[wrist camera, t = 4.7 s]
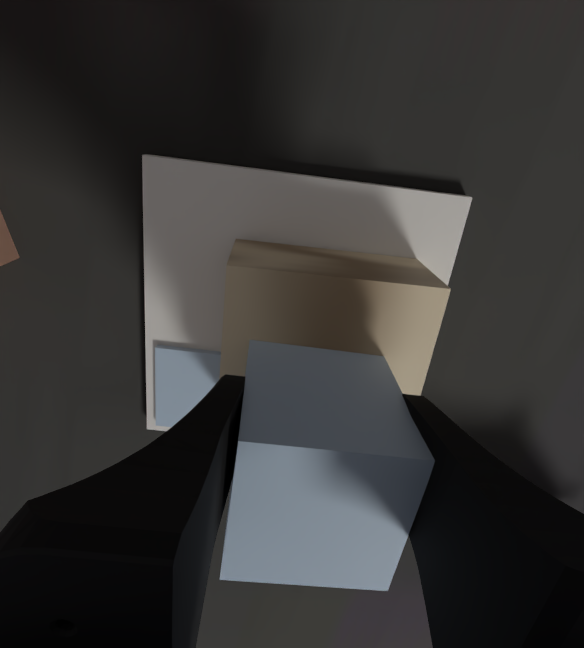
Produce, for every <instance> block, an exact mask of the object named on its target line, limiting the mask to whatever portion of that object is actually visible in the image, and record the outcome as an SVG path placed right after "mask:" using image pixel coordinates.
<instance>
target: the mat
mask: <svg viewBox="0 0 584 648" xmlns="http://www.w3.org/2000/svg"><path fill="white" fill-rule="evenodd" d="M142 180H143V236H144V292H145V348H146V403H147V429H151V430H160V431H168V430H169V429H170V428H171V427H172V426H174V425H175V424H176V423H177V422H178V421H179V420H181V419H182V418H183V417H184V416H185V415H186V414H187V413H189V412H190V411H191V410H192V409H193V408H194V407H195V406H196V405H197V404H198V403H199V402H200V401H201V400H202V399H203V398H204V397H205V396H206V394H207V393H208V392H209V391H210V390H211V389H212V388H213V387H214V385H215V384H216V383H217V382H218V381H219V376H220V360H221V344H222V328H223V312H224V296H225V280H226V265H227V262H228V259H229V256H230V254H231V251H232V248H233V245H234V242H235V239H243V240H252V241H261V242H270V243H279V244H288V245H297V246H306V247H315V248H324V249H333V250H342V251H351V252H360V253H369V254H378V255H387V256H396V257H405V258H414V259H418V260H419V261H420V262H421V263H422V264H423V265H424V266H426V267H427V268H428V269H429V270H430V271H431V272H432V273H433V274H435V275H436V276H437V277H438V278H439V279H440V280H441V281H443V282H444V283H445V284H446V285H447V286H448V283H449V279H450V275H451V272H452V268H453V265H454V261H455V258H456V254H457V251H458V247H459V243H460V240H461V236H462V233H463V229H464V226H465V222H466V219H467V215H468V211H469V208H470V204H471V201H472V197H469V196H467V195H459V194H452V193H444V192H436V191H428V190H421V189H413V188H405V187H397V186H390V185H382V184H374V183H366V182H359V181H351V180H343V179H336V178H328V177H320V176H312V175H305V174H297V173H289V172H281V171H274V170H266V169H258V168H250V167H243V166H235V165H227V164H220V163H212V162H204V161H196V160H189V159H181V158H173V157H165V156H158V155H150V154H145V155H142Z"/></svg>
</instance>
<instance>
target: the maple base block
mask: <svg viewBox="0 0 584 648" xmlns="http://www.w3.org/2000/svg"><path fill="white" fill-rule="evenodd" d="M450 291H451V289H450V288H449V287H448V286H447V285H446V284H445V283H444V282H443V281H441V280H440V279H439V278H438V277H437V276H436V275H435V274H433V273H432V272H431V271H430V270H429V269H428V268H427V267H426V266H424V265H423V264H422V263H421V262H420V261H419V260H418V259H414V258H405V257H396V256H387V255H378V254H369V253H360V252H351V251H342V250H333V249H324V248H315V247H306V246H297V245H288V244H279V243H270V242H261V241H252V240H243V239H235V242H234V245H233V248H232V251H231V254H230V256H229V259H228V262H227V265H226V280H225V296H224V312H223V328H222V344H221V360H220V376H219V379H220V378H221V377H222V376H224V375H225V374H227V375H236V376H245V371H246V364H247V356H248V349H249V341H250V340H257V341H265V342H273V343H281V344H289V345H297V346H306V347H314V348H322V349H330V350H338V351H346V352H354V353H362V354H370V355H378V356H384V357H385V359H386V361H387V363H388V365H389V367H390V369H391V371H392V373H393V375H394V377H395V379H396V381H397V383H398V385H399V387H400V389H401V391H402V393H403V394H409V395H419V396H420V395H421V392H422V388H423V385H424V381H425V378H426V374H427V371H428V367H429V364H430V360H431V357H432V353H433V350H434V346H435V343H436V339H437V336H438V332H439V329H440V325H441V322H442V318H443V315H444V312H445V308H446V305H447V301H448V298H449V294H450Z"/></svg>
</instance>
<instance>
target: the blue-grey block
mask: <svg viewBox="0 0 584 648" xmlns="http://www.w3.org/2000/svg"><path fill="white" fill-rule="evenodd" d="M402 394H403V393H402V391H401V389H400V387H399V385H398V383H397V381H396V379H395V377H394V375H393V373H392V371H391V369H390V367H389V365H388V363H387V361H386V359H385V357H384V356H378V355H370V354H362V353H354V352H346V351H338V350H330V349H322V348H314V347H306V346H297V345H289V344H281V343H273V342H265V341H257V340H250V341H249V349H248V356H247V364H246V371H245V385H244V393H243V401H242V409H241V417H240V425H239V432H238V440H237V448H236V455H235V463H234V471H233V478H232V482H231V488H230V497H229V505H228V514H227V522H226V530H225V539H224V547H223V556H222V564H221V572H220V580H232V581H246V582H261V583H276V584H291V585H306V586H321V587H336V588H351V589H365V590H380V591H388V588H389V586H390V583H391V580H392V578H393V575H394V572H395V570H396V567H397V564H398V562H399V559H400V556H401V554H402V551H403V548H404V545H405V543H406V540H407V537H408V535H409V532H410V529H411V527H412V524H413V521H414V519H415V516H416V513H417V511H418V508H419V505H420V503H421V500H422V497H423V494H424V492H425V489H426V486H427V484H428V481H429V478H430V475H431V472H432V469H433V466H434V462H435V460H434V458H433V456H432V454H431V452H430V450H429V449H428V447H427V445H426V443H425V441H424V439H423V438H422V436H421V434H420V432H419V430H418V428H417V427H416V425H415V423H414V421H413V419H412V417H411V415H410V413H409V410H408V408H407V406H406V403H405V401H404V398H403V396H402Z"/></svg>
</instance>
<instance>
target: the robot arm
mask: <svg viewBox="0 0 584 648" xmlns="http://www.w3.org/2000/svg"><path fill="white" fill-rule="evenodd" d="M244 385H245V376H236V375H227V374H225V375H224V376H222V377H221V378H220V379H219V381H218V382H217V383H216V384H215V385H214V387H213V388H212V389H211V390H210V391H209V392H208V393H207V394H206V396H205V397H204V398H203V399H202V400H201V401H200V402H199V403H198V404H197V405H196V406H195V407H194V408H193V409H192V410H191V411H190V412H189V413H187V414H186V415H185V416H184V417H183V418H182V419H181V420H179V421H178V422H177V423H176V424H175V425H174V426H172V427H171V428H170V429H169V430H168V431H166V432H165V433H164V434H162V435H161V436H160V437H158V438H157V439H156V440H154V441H153V442H151V443H150V444H148V445H147V446H146V447H144V448H142V449H141V450H139V451H137V452H136V453H134V454H132V455H131V456H129V457H127V458H125V459H124V460H122V461H120V462H119V463H117V464H115V465H113V466H111V467H109V468H107V469H105V470H103V471H101V472H99V473H97V474H94V475H92V476H90V477H88V478H86V479H84V480H81V481H79V482H76V483H74V484H72V485H69V486H67V487H64V488H61V489H59V490H56V491H53V492H51V493H48V494H45V495H43V496H40V497H37V498H34V499H31V500H28V501H27V502H26V503H25V504H24V506H23V507H22V508H21V509H20V510H19V511H18V512H17V513H16V514H15V515H14V517H13V518H12V519H11V520H10V521H9V522H8V524H7V525H6V526H5V527H4V528H3V530H2V531H1V532H0V648H196V642H197V636H198V631H199V625H200V619H201V614H202V608H203V602H204V597H205V591H206V585H207V580H208V574H209V569H210V563H211V558H212V552H213V548H214V543H215V539H216V535H217V531H218V528H219V524H220V521H221V517H222V514H223V510H224V506H225V503H226V499H227V496H228V492H229V489H230V485H231V482H232V478H233V471H234V463H235V455H236V448H237V440H238V432H239V425H240V417H241V409H242V401H243V393H244ZM402 396H403V398H404V401H405V403H406V406H407V408H408V410H409V413H410V415H411V417H412V419H413V421H414V423H415V425H416V427H417V428H418V430H419V432H420V434H421V436H422V438H423V439H424V441H425V443H426V445H427V447H428V449H429V450H430V452H431V454H432V456H433V458H434V460H435V462H434V466H433V469H432V472H431V475H430V478H429V481H428V484H427V486H426V489H425V492H424V494H423V497H422V500H421V503H420V505H419V508H418V511H417V513H416V516H415V519H414V521H413V524H412V527H411V529H410V532H409V537H410V540H411V544H412V547H413V550H414V554H415V558H416V561H417V565H418V569H419V574H420V579H421V584H422V589H423V595H424V600H425V605H426V610H427V616H428V622H429V628H430V633H431V639H432V645H433V648H584V514H583V513H581V512H579V511H577V510H575V509H574V508H572V507H570V506H569V505H567V504H565V503H563V502H562V501H560V500H558V499H557V498H555V497H553V496H551V495H550V494H548V493H547V492H545V491H543V490H542V489H540V488H539V487H537V486H535V485H534V484H532V483H531V482H530V481H528V480H527V479H525V478H524V477H522V476H521V475H519V474H518V473H516V472H515V471H513V470H512V469H511V468H509V467H508V466H506V465H505V464H504V463H502V462H501V461H500V460H498V459H497V458H496V457H495V456H493V455H492V454H491V453H490V452H488V451H487V450H486V449H484V448H483V447H482V446H481V445H480V444H478V443H477V442H476V441H475V440H474V439H472V438H471V437H470V436H469V435H468V434H467V433H465V432H464V431H463V430H462V429H461V428H460V427H459V426H457V425H456V424H455V423H454V422H453V421H452V420H451V419H450V418H448V417H447V416H446V415H445V414H444V413H443V412H442V411H441V410H439V409H438V408H437V407H436V406H435V405H434V404H433V403H431V402H430V401H429V400H428V399H426V398H425V397H424V396H419V395H409V394H402Z"/></svg>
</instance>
